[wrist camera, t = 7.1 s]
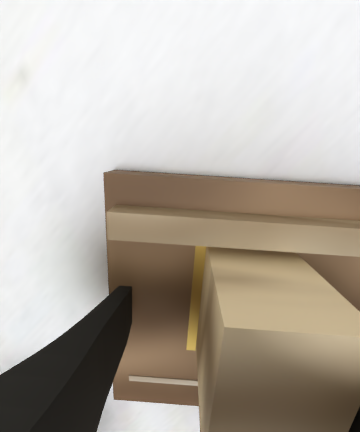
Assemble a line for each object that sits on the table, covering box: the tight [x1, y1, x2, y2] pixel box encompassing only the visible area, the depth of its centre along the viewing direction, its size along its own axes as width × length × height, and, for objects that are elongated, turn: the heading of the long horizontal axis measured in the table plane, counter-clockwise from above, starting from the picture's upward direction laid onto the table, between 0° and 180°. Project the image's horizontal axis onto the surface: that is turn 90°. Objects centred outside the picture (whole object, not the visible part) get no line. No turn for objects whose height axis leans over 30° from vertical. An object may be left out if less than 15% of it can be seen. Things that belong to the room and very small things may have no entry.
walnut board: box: [104, 170, 360, 406], centre depth 11 cm, size 14×22×3 cm, turn 87°
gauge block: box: [196, 247, 360, 432], centre depth 9 cm, size 10×4×5 cm, turn 177°
